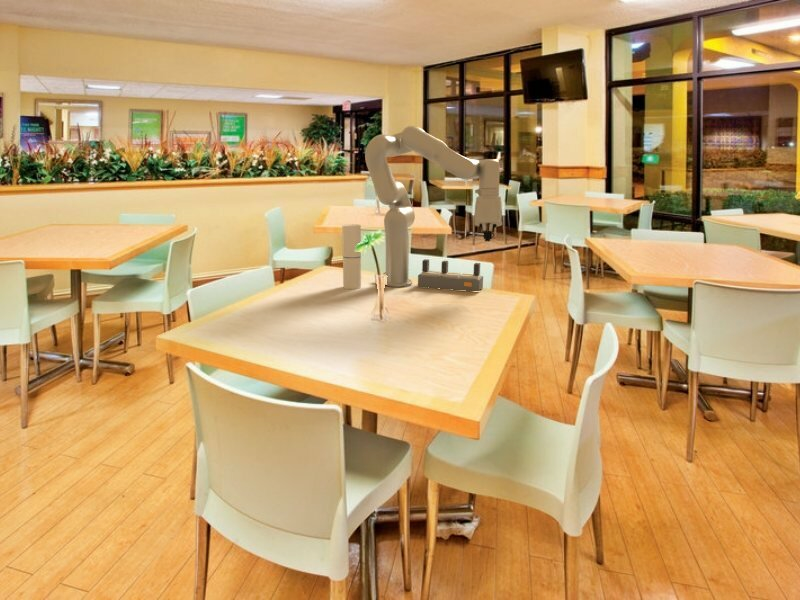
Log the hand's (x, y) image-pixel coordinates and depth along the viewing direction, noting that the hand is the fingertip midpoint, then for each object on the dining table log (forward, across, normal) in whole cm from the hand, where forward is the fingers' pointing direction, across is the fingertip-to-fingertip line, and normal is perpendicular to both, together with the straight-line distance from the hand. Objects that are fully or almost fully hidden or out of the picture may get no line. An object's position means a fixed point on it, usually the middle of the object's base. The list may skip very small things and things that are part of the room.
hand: (487, 240), depth 211 cm
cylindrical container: (+19, -52, -13) cm, 57 cm away
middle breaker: (+13, -17, 0) cm, 22 cm away
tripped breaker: (+13, -4, 0) cm, 14 cm away
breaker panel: (+20, -15, 0) cm, 25 cm away
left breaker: (+13, -25, 0) cm, 28 cm away
